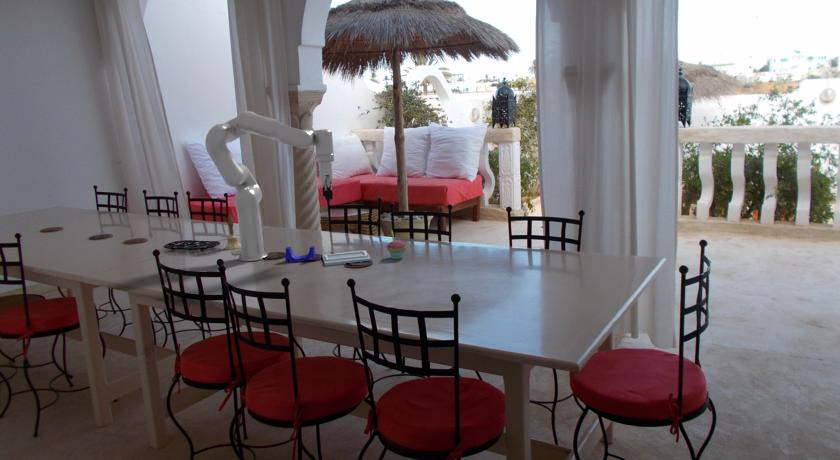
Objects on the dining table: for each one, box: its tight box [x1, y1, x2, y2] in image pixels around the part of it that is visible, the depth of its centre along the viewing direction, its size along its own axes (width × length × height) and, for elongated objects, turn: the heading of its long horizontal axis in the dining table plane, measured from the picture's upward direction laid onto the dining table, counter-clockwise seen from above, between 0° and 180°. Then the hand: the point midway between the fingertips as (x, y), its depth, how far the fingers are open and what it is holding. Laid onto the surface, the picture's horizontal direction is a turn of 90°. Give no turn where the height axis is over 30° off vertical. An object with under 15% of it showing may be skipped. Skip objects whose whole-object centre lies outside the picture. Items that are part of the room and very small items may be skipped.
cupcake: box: [386, 230, 407, 260], centre depth 271 cm, size 9×8×12 cm
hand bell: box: [224, 214, 241, 251], centre depth 305 cm, size 8×8×16 cm
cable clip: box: [284, 245, 317, 263], centre depth 274 cm, size 12×4×6 cm, turn 85°
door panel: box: [321, 249, 372, 267], centre depth 273 cm, size 19×16×2 cm
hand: (327, 197), depth 280 cm, fingers open, 9 cm apart
